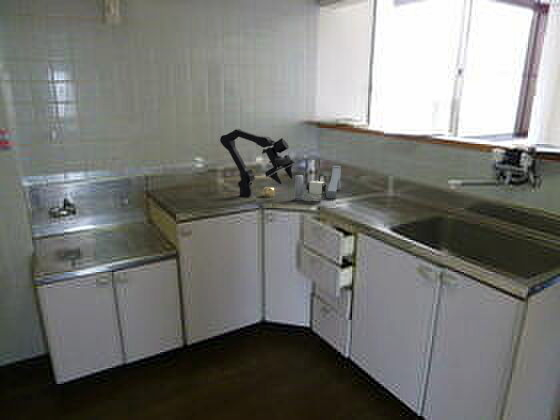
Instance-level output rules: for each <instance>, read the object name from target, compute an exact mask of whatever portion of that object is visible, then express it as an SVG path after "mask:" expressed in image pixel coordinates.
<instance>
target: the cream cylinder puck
mask: <svg viewBox="0 0 560 420" xmlns="http://www.w3.org/2000/svg"><path fill="white" fill-rule="evenodd" d="M263 197H264V198H273V197H275V187H273V186H265V187H263Z"/></svg>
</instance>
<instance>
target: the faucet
mask: <svg viewBox="0 0 560 420" xmlns="http://www.w3.org/2000/svg"><path fill="white" fill-rule="evenodd" d="M341 169H342V167H341V165H333V166H332V172H331V173H332V174H331V178H330V182H329V185H328V191H327V192H326V193H325V197H326V199H334V200H335V199H337V197H338V196H337V195H338V194H337V191H340V190H341V187H342V186H341V185H342V184H341V178H342V170H341Z"/></svg>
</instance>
